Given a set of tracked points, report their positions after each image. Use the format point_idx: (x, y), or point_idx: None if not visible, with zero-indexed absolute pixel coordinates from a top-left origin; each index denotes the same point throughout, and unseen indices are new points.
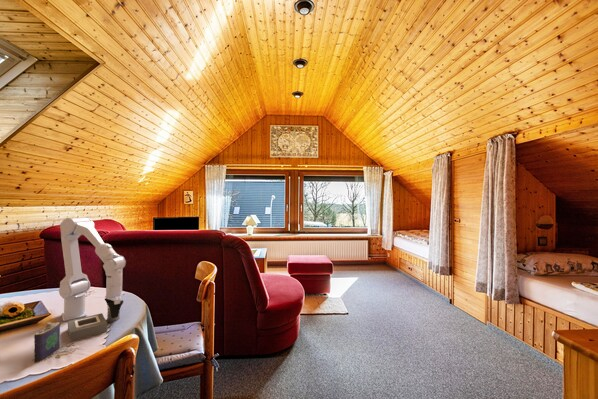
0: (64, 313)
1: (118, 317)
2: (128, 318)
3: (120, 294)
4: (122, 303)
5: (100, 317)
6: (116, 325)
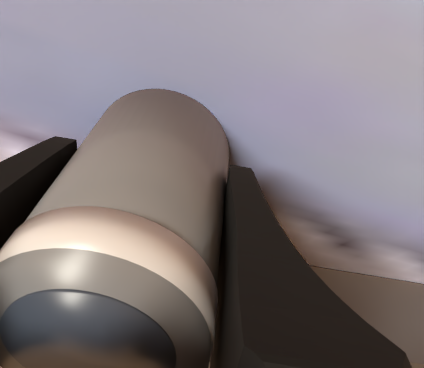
0: None
1: (211, 130)
2: (297, 6)
3: None
4: (398, 351)
5: None
6: (378, 191)
